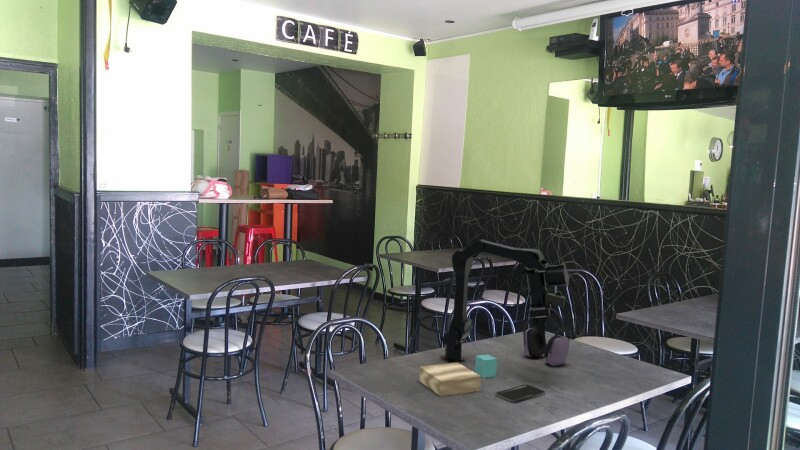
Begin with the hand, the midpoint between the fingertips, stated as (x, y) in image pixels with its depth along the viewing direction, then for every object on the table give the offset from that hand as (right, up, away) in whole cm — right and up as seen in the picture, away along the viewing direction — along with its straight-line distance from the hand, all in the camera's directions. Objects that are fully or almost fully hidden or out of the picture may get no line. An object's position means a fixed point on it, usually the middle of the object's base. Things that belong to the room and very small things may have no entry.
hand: (543, 333), depth 192 cm
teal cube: (-19, -14, +1) cm, 24 cm away
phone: (-11, -16, -16) cm, 25 cm away
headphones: (+5, -14, +20) cm, 24 cm away
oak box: (-32, -15, -11) cm, 37 cm away
